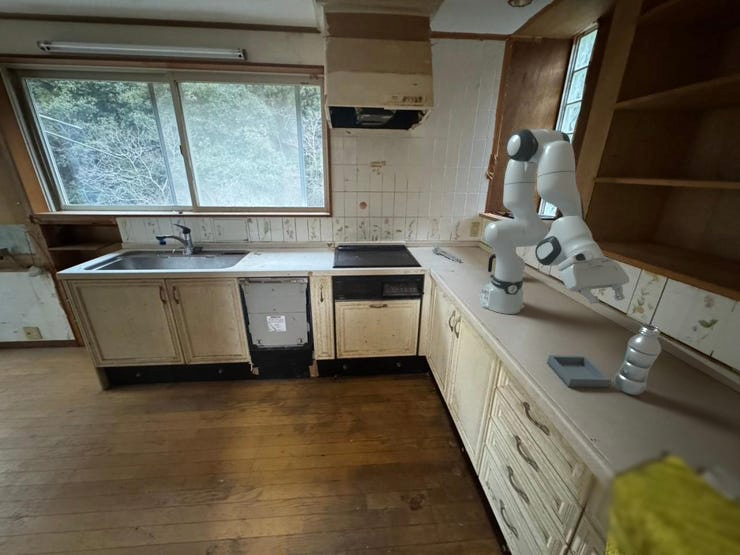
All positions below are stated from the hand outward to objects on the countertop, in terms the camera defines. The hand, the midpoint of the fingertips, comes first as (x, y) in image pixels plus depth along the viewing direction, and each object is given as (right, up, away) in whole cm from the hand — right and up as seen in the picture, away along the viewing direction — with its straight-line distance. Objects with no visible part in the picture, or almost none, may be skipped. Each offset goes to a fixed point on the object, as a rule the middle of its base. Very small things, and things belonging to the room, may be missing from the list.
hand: (608, 301), depth 85 cm
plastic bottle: (+3, -25, -3) cm, 25 cm away
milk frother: (+4, +5, +78) cm, 79 cm away
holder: (-8, -22, +3) cm, 24 cm away
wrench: (-17, +21, +120) cm, 123 cm away
